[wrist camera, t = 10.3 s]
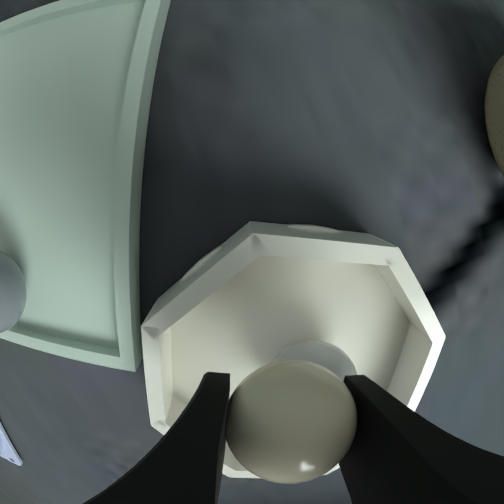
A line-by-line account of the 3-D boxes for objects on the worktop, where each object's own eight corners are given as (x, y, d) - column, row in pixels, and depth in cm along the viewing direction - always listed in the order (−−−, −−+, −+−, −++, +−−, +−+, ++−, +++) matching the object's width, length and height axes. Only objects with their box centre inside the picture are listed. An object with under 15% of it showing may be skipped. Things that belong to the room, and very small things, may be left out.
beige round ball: (235, 420, 9) (218, 501, 6) (232, 333, 8) (205, 415, 5) (337, 422, 9) (350, 502, 6) (354, 336, 8) (386, 416, 5)
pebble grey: (249, 400, 12) (274, 457, 8) (256, 327, 11) (288, 375, 8) (323, 391, 12) (362, 437, 9) (338, 323, 12) (387, 360, 9)
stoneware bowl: (165, 434, 13) (156, 470, 11) (158, 211, 11) (137, 220, 8) (371, 435, 14) (385, 466, 12) (434, 239, 11) (470, 253, 9)
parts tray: (-39, 310, 11) (-51, 318, 10) (-29, 48, 8) (-41, 43, 7) (143, 356, 12) (135, 371, 11) (172, -5, 9) (166, -19, 8)
